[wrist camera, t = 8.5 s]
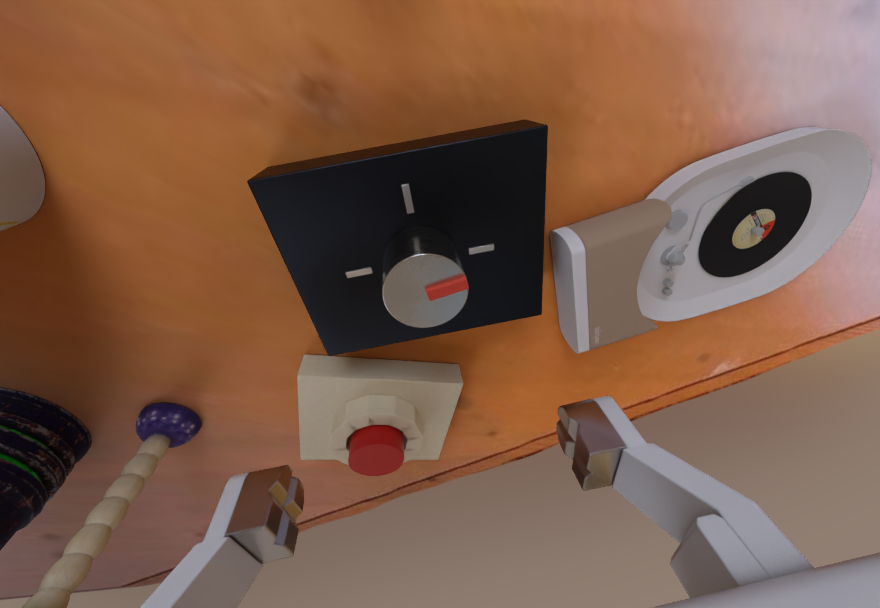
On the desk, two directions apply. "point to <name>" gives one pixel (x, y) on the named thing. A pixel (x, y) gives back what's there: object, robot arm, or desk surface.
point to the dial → (423, 278)
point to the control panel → (405, 205)
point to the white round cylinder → (18, 175)
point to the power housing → (374, 403)
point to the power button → (376, 450)
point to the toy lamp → (116, 501)
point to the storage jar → (34, 456)
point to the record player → (709, 235)
